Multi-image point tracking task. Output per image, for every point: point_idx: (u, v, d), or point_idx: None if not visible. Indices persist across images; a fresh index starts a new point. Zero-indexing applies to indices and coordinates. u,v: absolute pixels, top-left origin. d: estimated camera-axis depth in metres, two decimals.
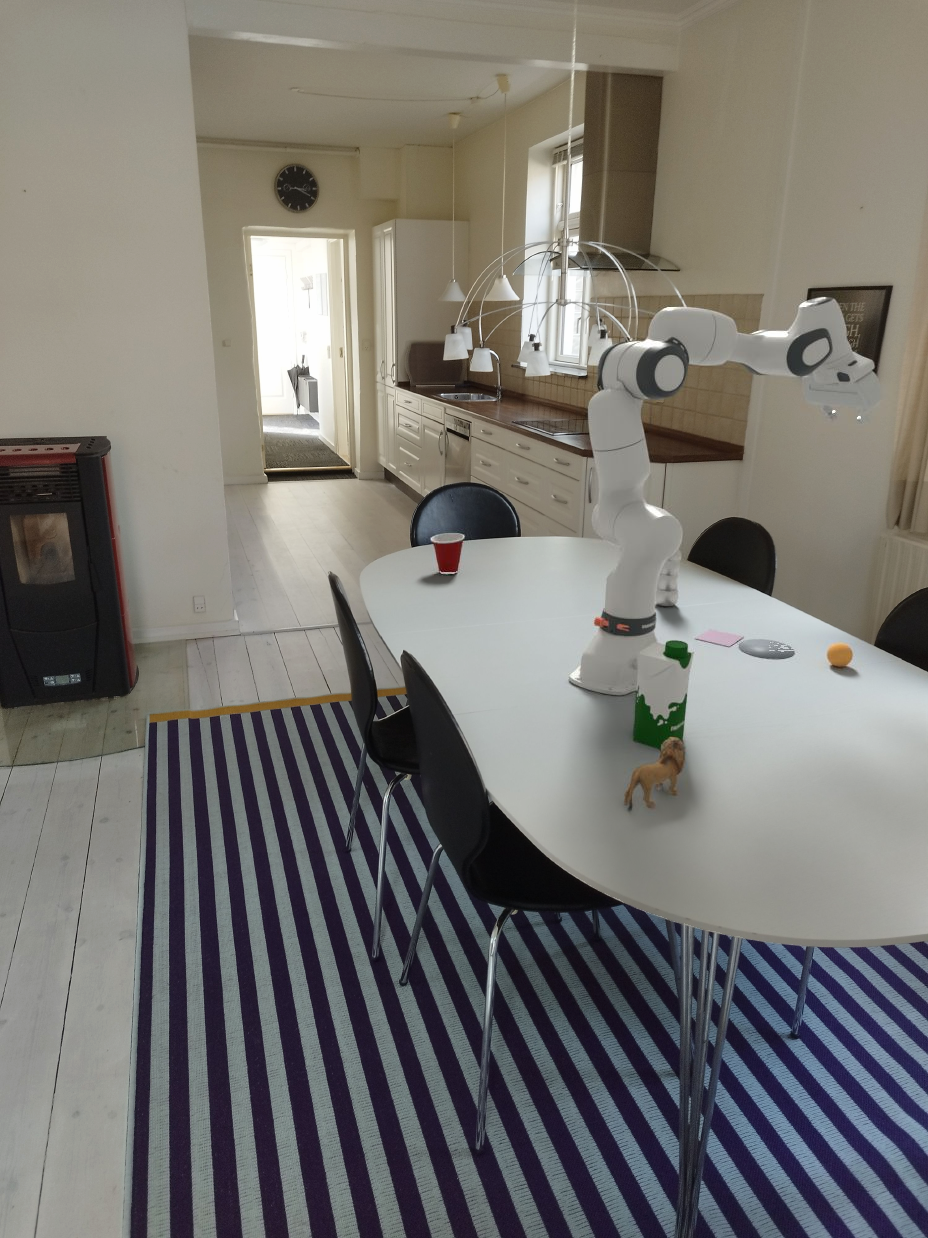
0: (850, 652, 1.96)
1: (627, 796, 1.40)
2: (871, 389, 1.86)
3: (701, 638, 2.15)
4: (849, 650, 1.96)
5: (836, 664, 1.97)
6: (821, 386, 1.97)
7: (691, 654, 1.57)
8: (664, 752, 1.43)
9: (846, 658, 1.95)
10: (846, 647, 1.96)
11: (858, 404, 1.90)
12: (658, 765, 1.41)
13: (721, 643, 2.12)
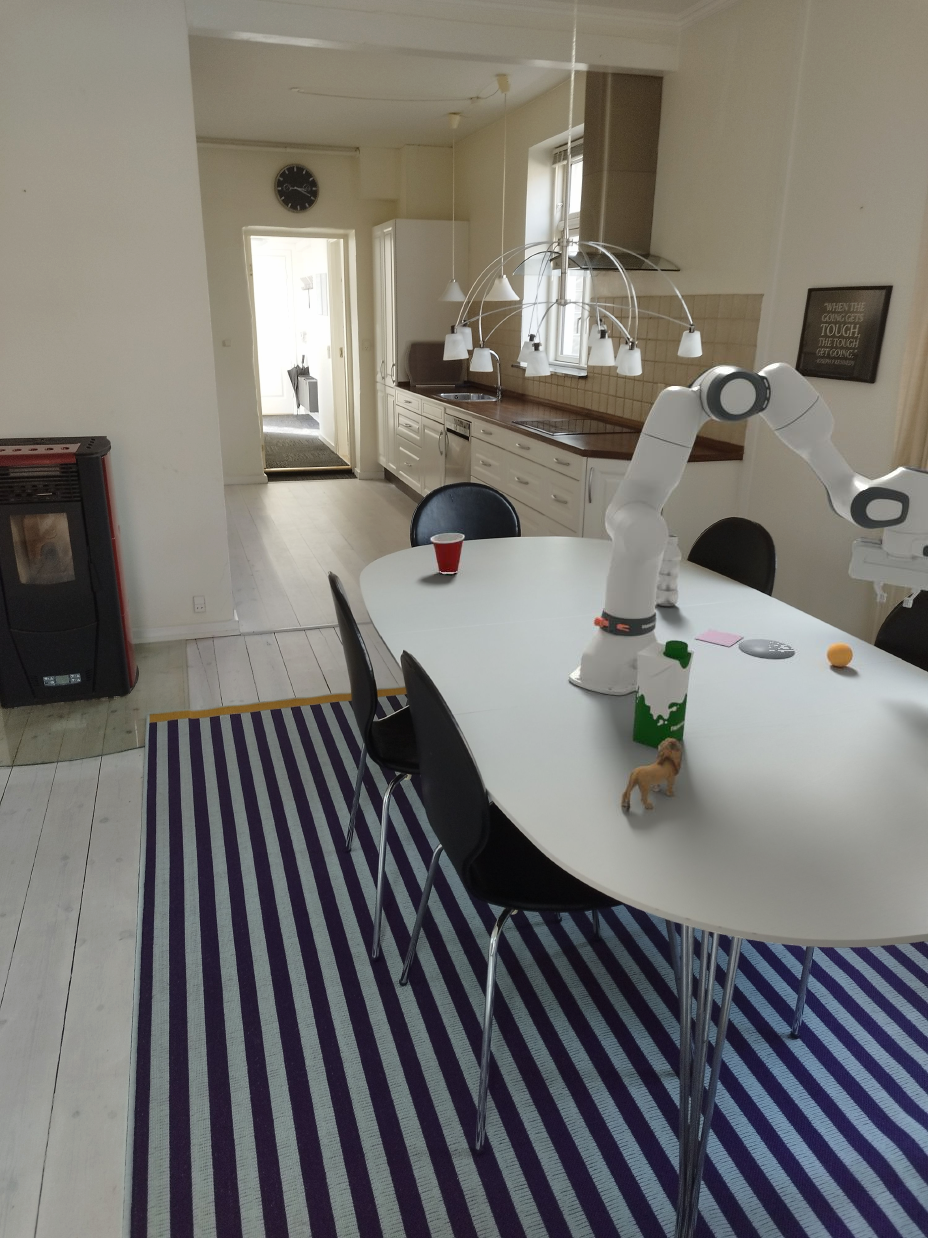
0: (850, 652, 1.96)
1: (625, 797, 1.40)
2: None
3: (701, 638, 2.15)
4: (849, 650, 1.96)
5: (836, 664, 1.97)
6: (882, 560, 1.86)
7: (691, 654, 1.57)
8: (661, 753, 1.42)
9: (846, 658, 1.95)
10: (846, 647, 1.96)
11: None
12: (656, 766, 1.40)
13: (721, 643, 2.12)
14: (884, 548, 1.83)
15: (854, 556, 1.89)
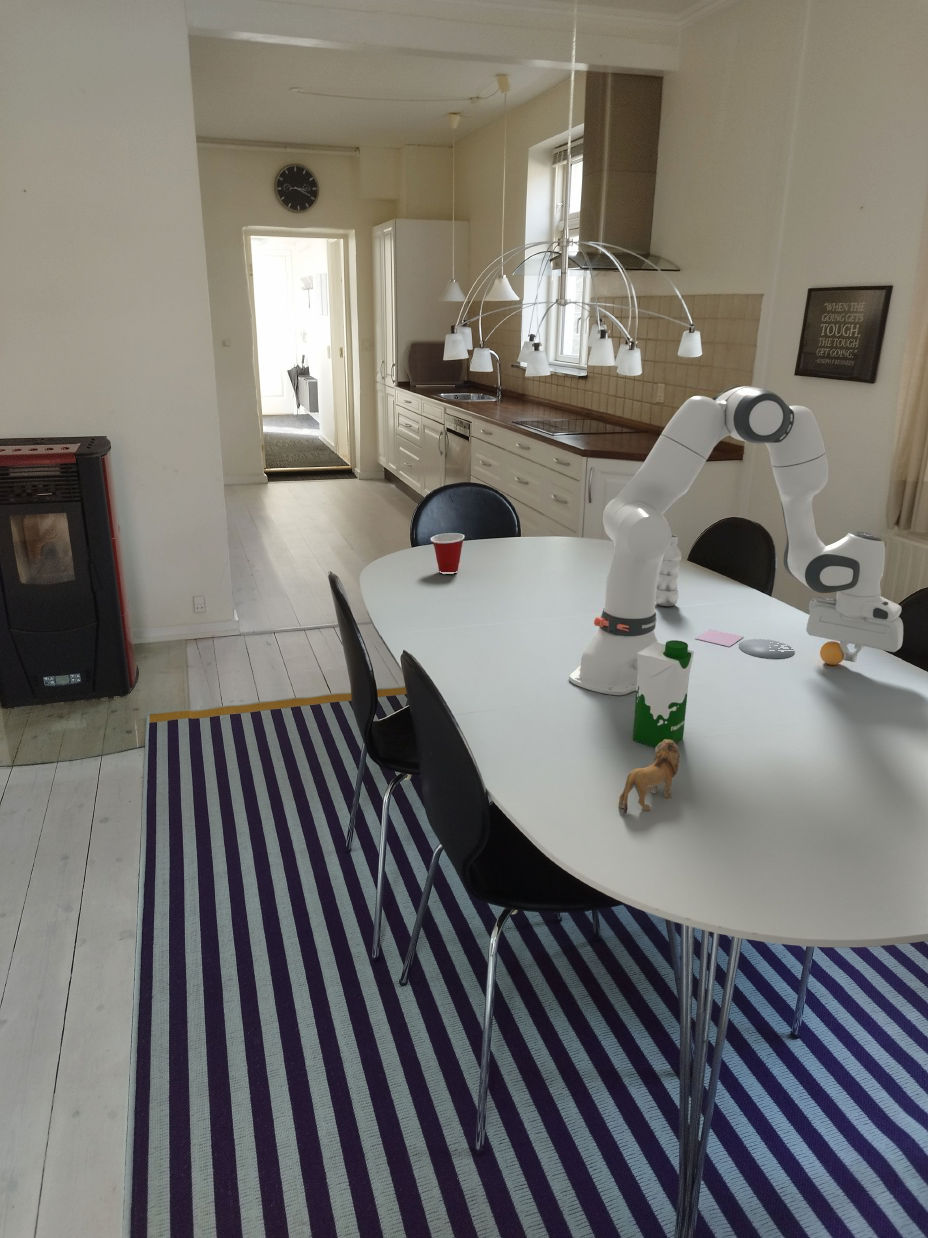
0: None
1: (622, 799, 1.39)
2: (900, 633, 1.87)
3: (701, 638, 2.15)
4: (839, 644, 1.97)
5: (832, 662, 1.98)
6: (836, 620, 1.95)
7: (691, 654, 1.57)
8: (659, 755, 1.42)
9: (838, 652, 1.96)
10: (835, 643, 1.98)
11: (881, 644, 1.89)
12: (653, 768, 1.40)
13: (721, 643, 2.12)
14: (837, 609, 1.92)
15: (811, 615, 1.98)
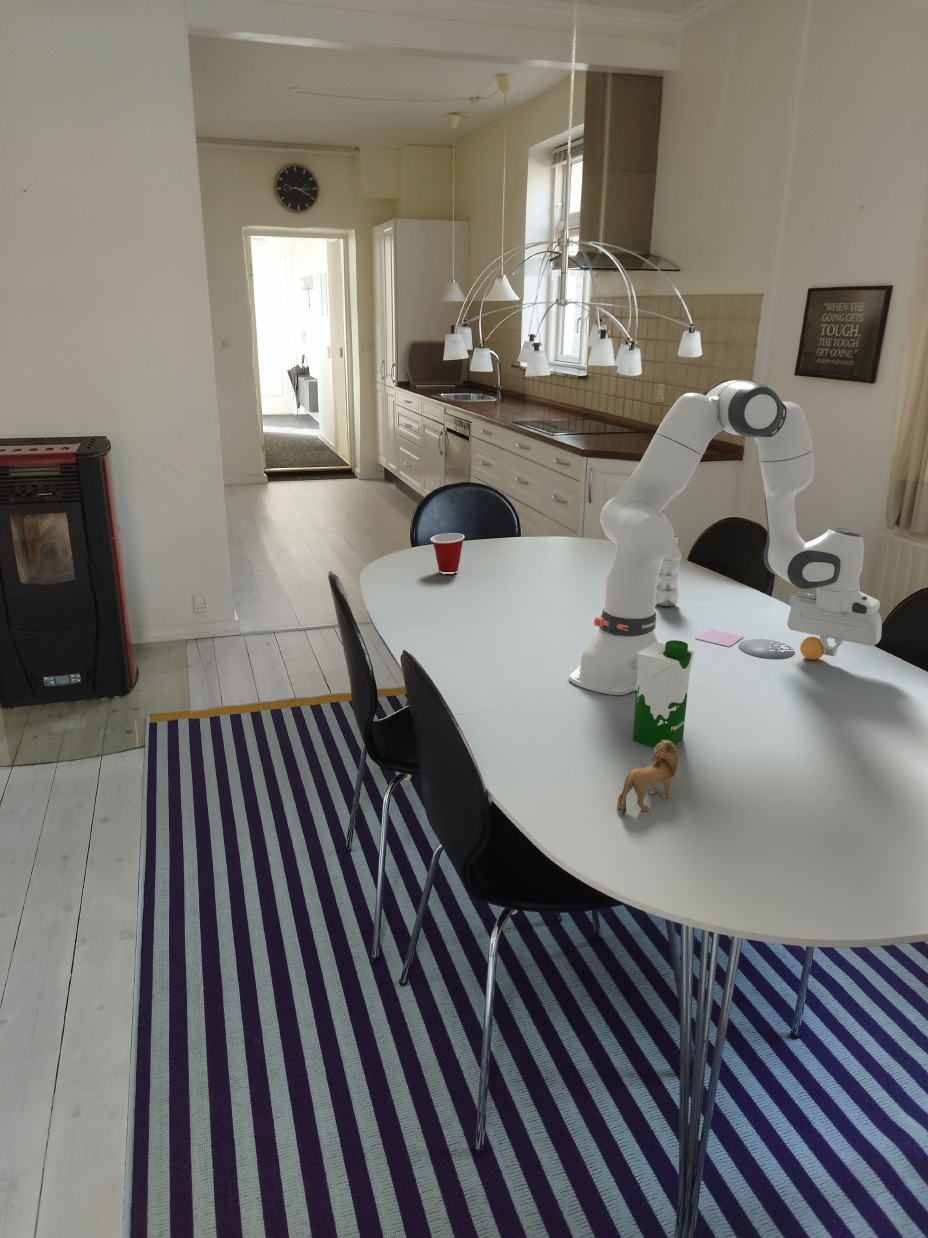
0: (809, 637, 2.02)
1: (621, 800, 1.39)
2: (878, 627, 1.91)
3: (701, 638, 2.15)
4: (807, 638, 2.02)
5: (817, 651, 2.00)
6: (817, 614, 1.98)
7: (691, 654, 1.57)
8: (657, 755, 1.42)
9: (811, 641, 2.00)
10: (804, 640, 2.03)
11: (860, 639, 1.93)
12: (652, 768, 1.40)
13: (721, 643, 2.12)
14: (817, 604, 1.95)
15: (791, 610, 2.01)
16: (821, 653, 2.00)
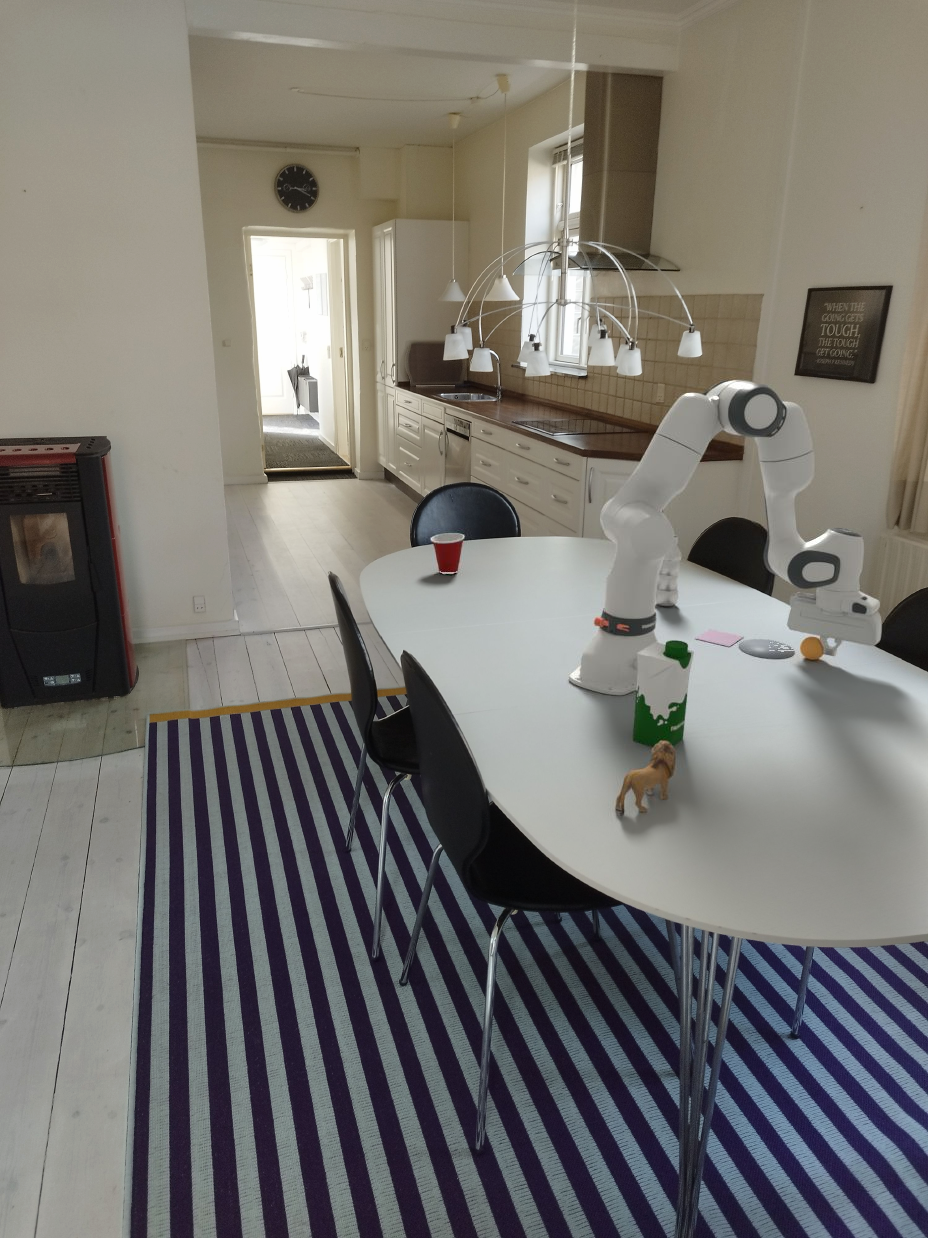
0: (809, 637, 2.02)
1: (619, 801, 1.39)
2: (878, 627, 1.91)
3: (701, 638, 2.15)
4: (807, 638, 2.02)
5: (817, 651, 2.00)
6: (816, 614, 1.98)
7: (691, 654, 1.57)
8: (655, 756, 1.41)
9: (811, 641, 2.00)
10: (803, 640, 2.03)
11: (860, 639, 1.93)
12: (650, 769, 1.39)
13: (721, 643, 2.12)
14: (817, 604, 1.95)
15: (791, 610, 2.01)
16: (821, 653, 2.00)
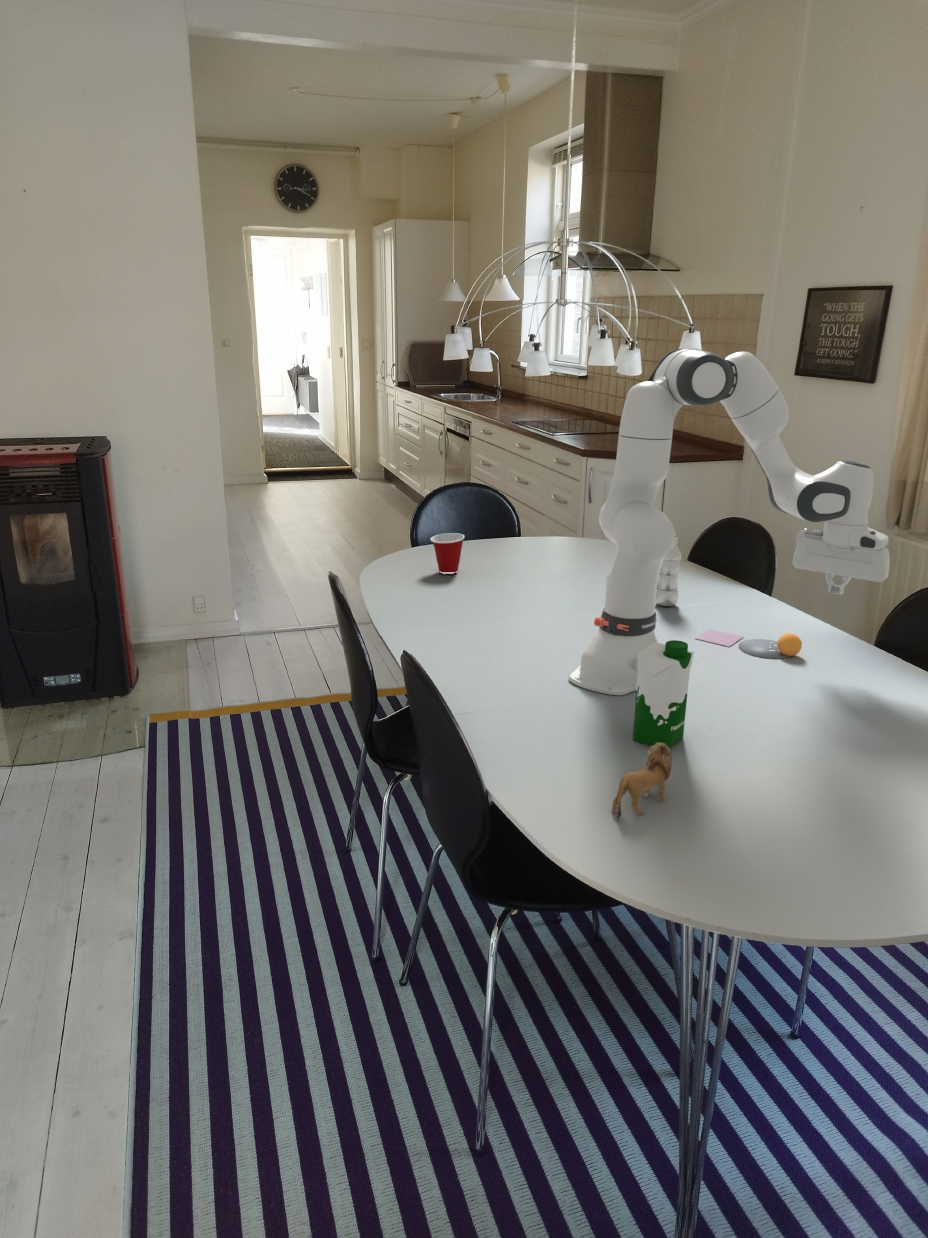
0: None
1: (615, 804, 1.38)
2: (887, 562, 1.86)
3: (701, 638, 2.15)
4: None
5: (787, 642, 2.02)
6: (823, 551, 1.93)
7: (691, 654, 1.57)
8: (651, 758, 1.41)
9: (779, 649, 2.04)
10: None
11: (867, 575, 1.88)
12: (646, 771, 1.39)
13: (721, 643, 2.12)
14: (824, 539, 1.91)
15: (797, 547, 1.96)
16: (789, 638, 2.02)
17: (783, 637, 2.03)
